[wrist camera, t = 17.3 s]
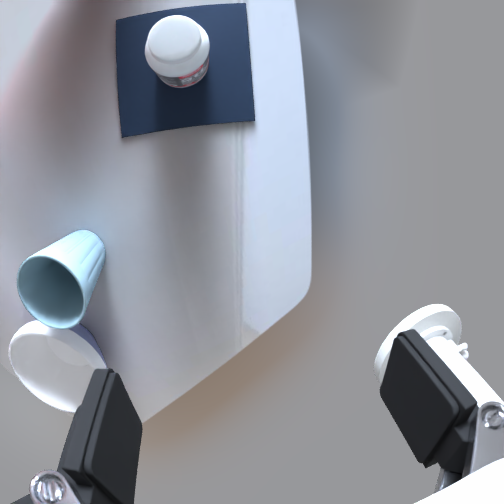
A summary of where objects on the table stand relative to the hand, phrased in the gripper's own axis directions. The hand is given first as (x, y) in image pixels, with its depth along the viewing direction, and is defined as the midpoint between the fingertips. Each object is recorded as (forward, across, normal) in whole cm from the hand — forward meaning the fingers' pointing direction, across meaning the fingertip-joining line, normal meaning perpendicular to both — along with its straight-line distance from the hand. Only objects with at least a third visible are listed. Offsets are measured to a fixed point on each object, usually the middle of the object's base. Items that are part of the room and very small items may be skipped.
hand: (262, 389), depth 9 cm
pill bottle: (+25, +3, -16) cm, 30 cm away
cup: (+26, +17, +3) cm, 31 cm away
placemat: (+25, +3, -16) cm, 30 cm away
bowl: (+26, +24, +16) cm, 39 cm away
